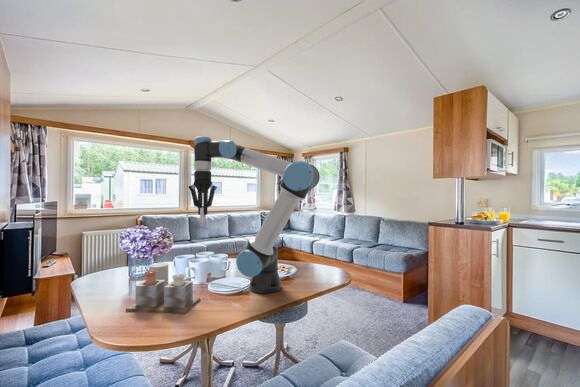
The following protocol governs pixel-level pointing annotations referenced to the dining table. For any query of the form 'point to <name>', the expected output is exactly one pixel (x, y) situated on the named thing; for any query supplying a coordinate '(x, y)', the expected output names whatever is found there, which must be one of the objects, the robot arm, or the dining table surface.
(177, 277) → the plug cream
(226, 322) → the dining table surface
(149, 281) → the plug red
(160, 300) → the socket board
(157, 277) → the beige rectangular block
